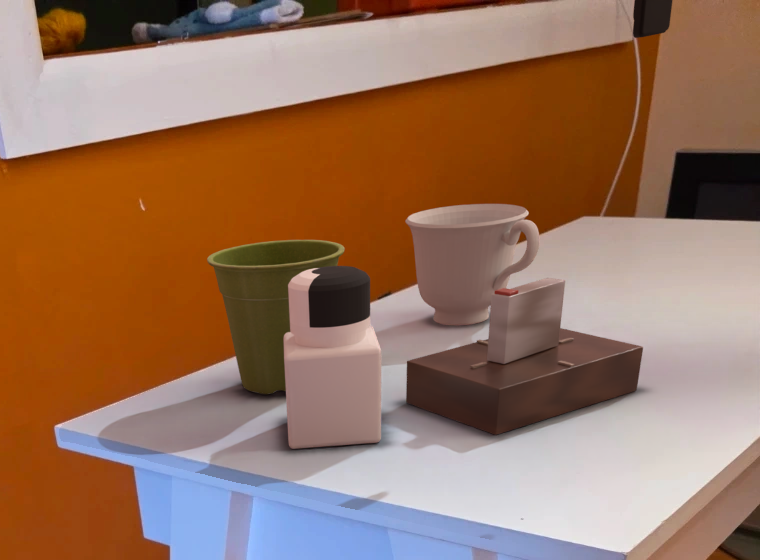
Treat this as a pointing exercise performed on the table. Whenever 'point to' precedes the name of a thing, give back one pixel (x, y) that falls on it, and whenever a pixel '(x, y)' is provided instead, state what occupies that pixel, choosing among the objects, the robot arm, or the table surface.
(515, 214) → the teacup
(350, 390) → the medicine bottle
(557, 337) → the tap handle
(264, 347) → the plant pot
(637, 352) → the tap base
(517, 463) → the table surface
